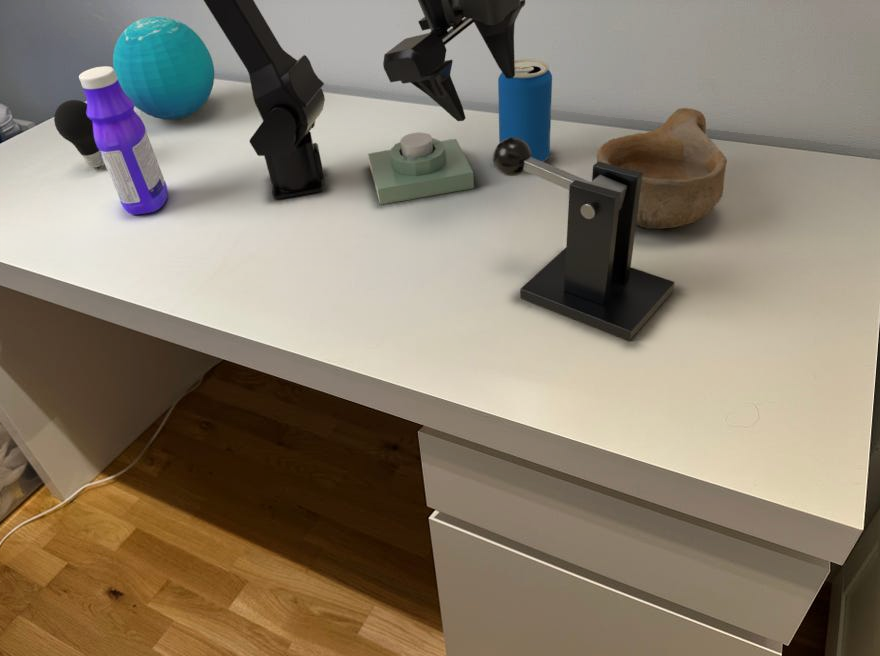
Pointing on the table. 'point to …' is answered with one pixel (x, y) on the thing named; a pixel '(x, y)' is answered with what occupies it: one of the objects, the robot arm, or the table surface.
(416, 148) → the flush button
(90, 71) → the bottle
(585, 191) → the lever bracket
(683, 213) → the bowl
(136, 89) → the decorative orb
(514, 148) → the ball knob lever
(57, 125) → the light bulb
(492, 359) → the table surface
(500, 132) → the beverage can
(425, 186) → the button block
